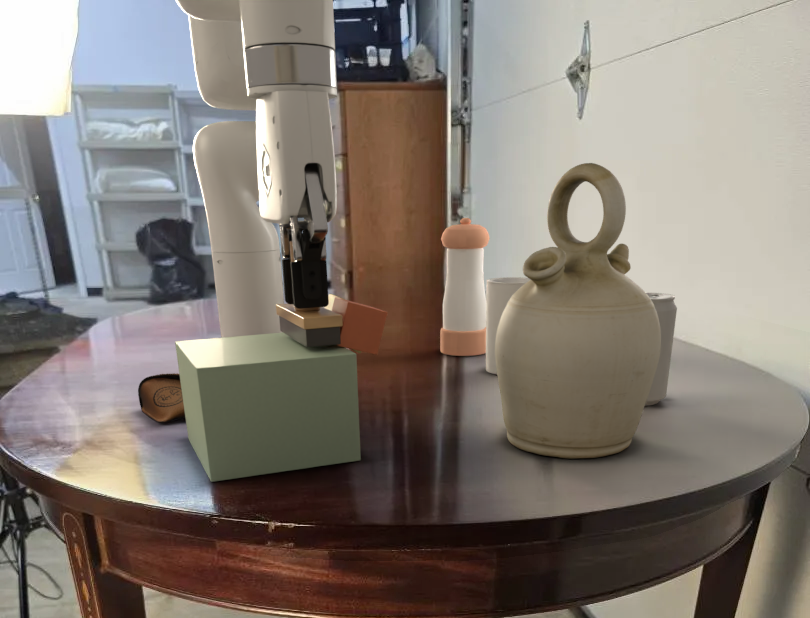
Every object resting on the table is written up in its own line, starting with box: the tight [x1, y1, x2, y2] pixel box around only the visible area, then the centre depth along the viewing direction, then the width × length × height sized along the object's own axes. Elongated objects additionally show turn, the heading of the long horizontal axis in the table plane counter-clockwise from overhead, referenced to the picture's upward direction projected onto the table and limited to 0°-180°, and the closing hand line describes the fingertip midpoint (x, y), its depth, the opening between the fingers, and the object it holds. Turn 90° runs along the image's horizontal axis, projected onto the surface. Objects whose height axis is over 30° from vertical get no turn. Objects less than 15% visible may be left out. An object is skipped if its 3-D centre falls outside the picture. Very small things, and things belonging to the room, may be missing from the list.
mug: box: [485, 276, 531, 375], centre depth 105 cm, size 10×7×12 cm, turn 119°
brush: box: [276, 241, 343, 347], centre depth 72 cm, size 10×4×9 cm, turn 23°
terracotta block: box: [332, 297, 388, 356], centre depth 73 cm, size 4×4×4 cm
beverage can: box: [644, 292, 678, 407], centre depth 89 cm, size 6×6×12 cm
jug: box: [495, 162, 661, 460], centre depth 72 cm, size 15×16×25 cm
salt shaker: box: [439, 217, 491, 357], centre depth 116 cm, size 7×7×19 cm
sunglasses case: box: [137, 372, 186, 423], centre depth 92 cm, size 18×7×7 cm
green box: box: [174, 333, 362, 483], centre depth 75 cm, size 16×14×10 cm
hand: (306, 303), depth 72 cm, fingers closed on brush, 2 cm apart
